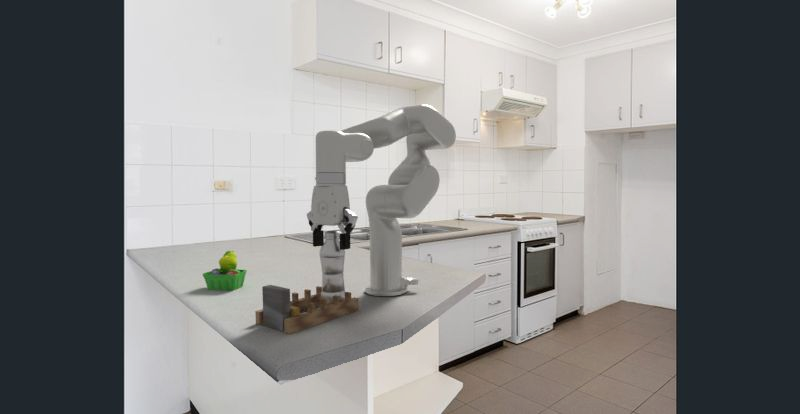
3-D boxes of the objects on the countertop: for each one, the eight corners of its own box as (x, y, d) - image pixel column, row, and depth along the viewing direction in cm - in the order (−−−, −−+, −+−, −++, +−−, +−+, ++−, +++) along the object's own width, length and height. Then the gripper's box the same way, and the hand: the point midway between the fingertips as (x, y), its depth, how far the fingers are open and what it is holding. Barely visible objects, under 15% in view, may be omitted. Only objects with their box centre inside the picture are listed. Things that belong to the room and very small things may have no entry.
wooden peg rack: (325, 302, 119) (325, 269, 118) (358, 309, 112) (358, 274, 111) (255, 323, 101) (254, 285, 101) (289, 334, 94) (288, 292, 94)
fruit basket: (201, 290, 134) (200, 253, 133) (218, 283, 143) (217, 249, 142) (235, 291, 132) (234, 254, 131) (250, 284, 141) (249, 250, 140)
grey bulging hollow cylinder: (342, 313, 109) (340, 233, 108) (316, 311, 110) (314, 232, 109) (350, 305, 115) (348, 230, 114) (325, 304, 117) (324, 230, 116)
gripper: (296, 180, 113) (297, 246, 114) (345, 179, 103) (345, 252, 103) (318, 180, 119) (319, 243, 120) (366, 180, 109) (366, 248, 109)
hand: (331, 247), depth 112 cm, fingers open, 9 cm apart
